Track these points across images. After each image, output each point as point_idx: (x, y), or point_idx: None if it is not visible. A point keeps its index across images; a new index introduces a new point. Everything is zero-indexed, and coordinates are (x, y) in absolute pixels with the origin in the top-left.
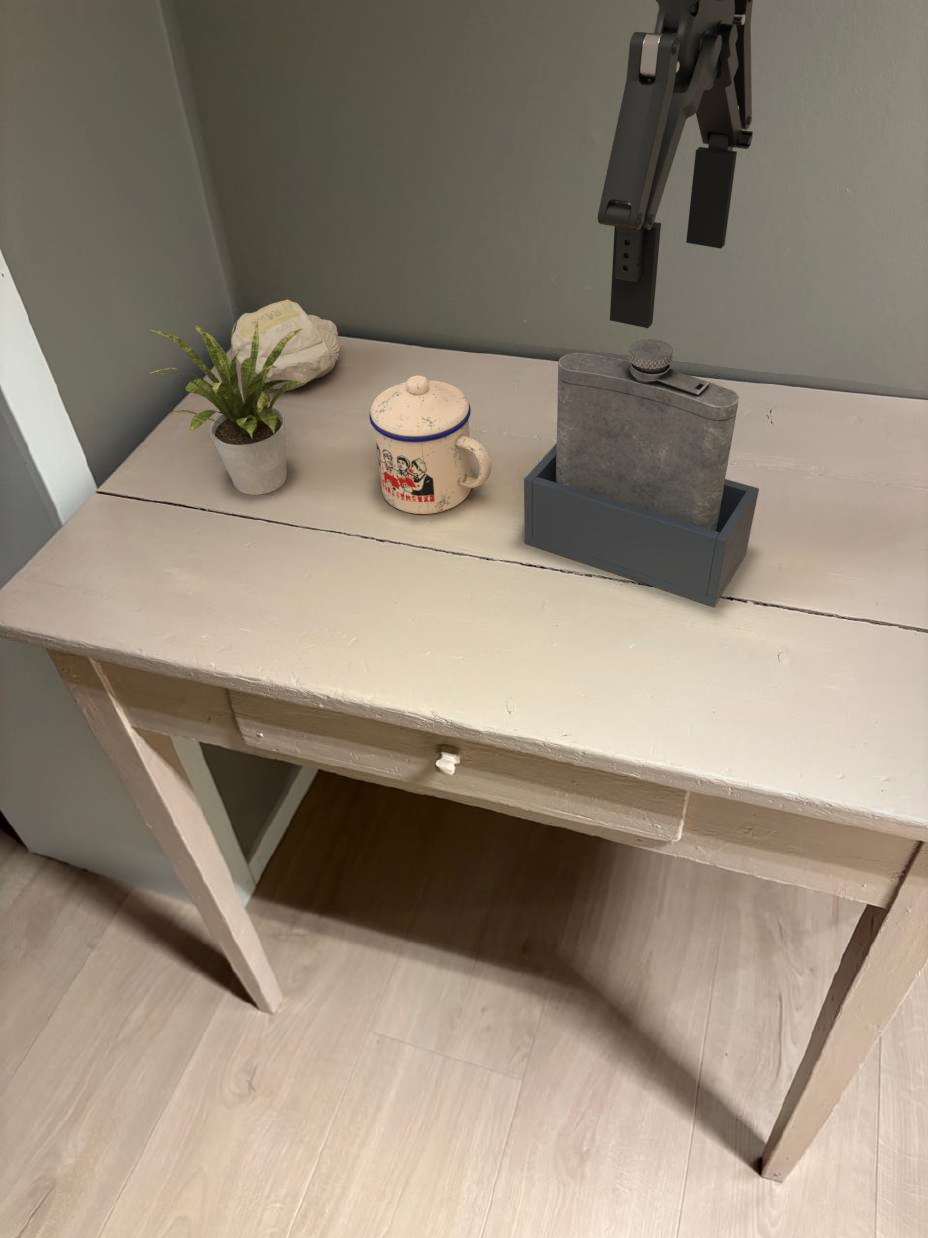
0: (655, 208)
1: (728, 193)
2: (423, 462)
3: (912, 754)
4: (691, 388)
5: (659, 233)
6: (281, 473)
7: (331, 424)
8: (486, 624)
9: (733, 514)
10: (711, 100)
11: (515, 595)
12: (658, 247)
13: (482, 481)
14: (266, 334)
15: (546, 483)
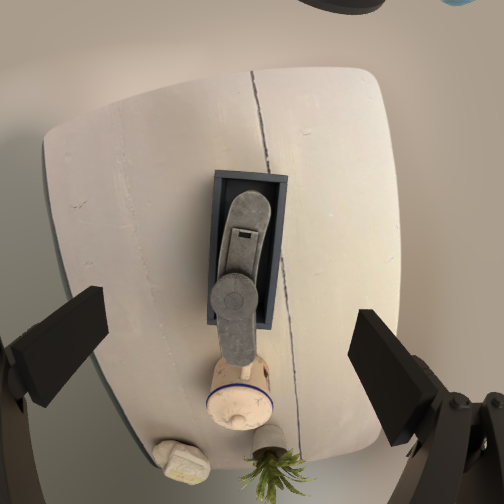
0: (452, 414)
1: (59, 320)
2: (266, 385)
3: (343, 69)
4: (252, 241)
5: (417, 382)
6: (269, 429)
7: (211, 426)
8: (341, 295)
9: (254, 178)
10: (24, 481)
11: (314, 291)
12: (406, 368)
13: None
14: (194, 474)
15: (270, 314)
